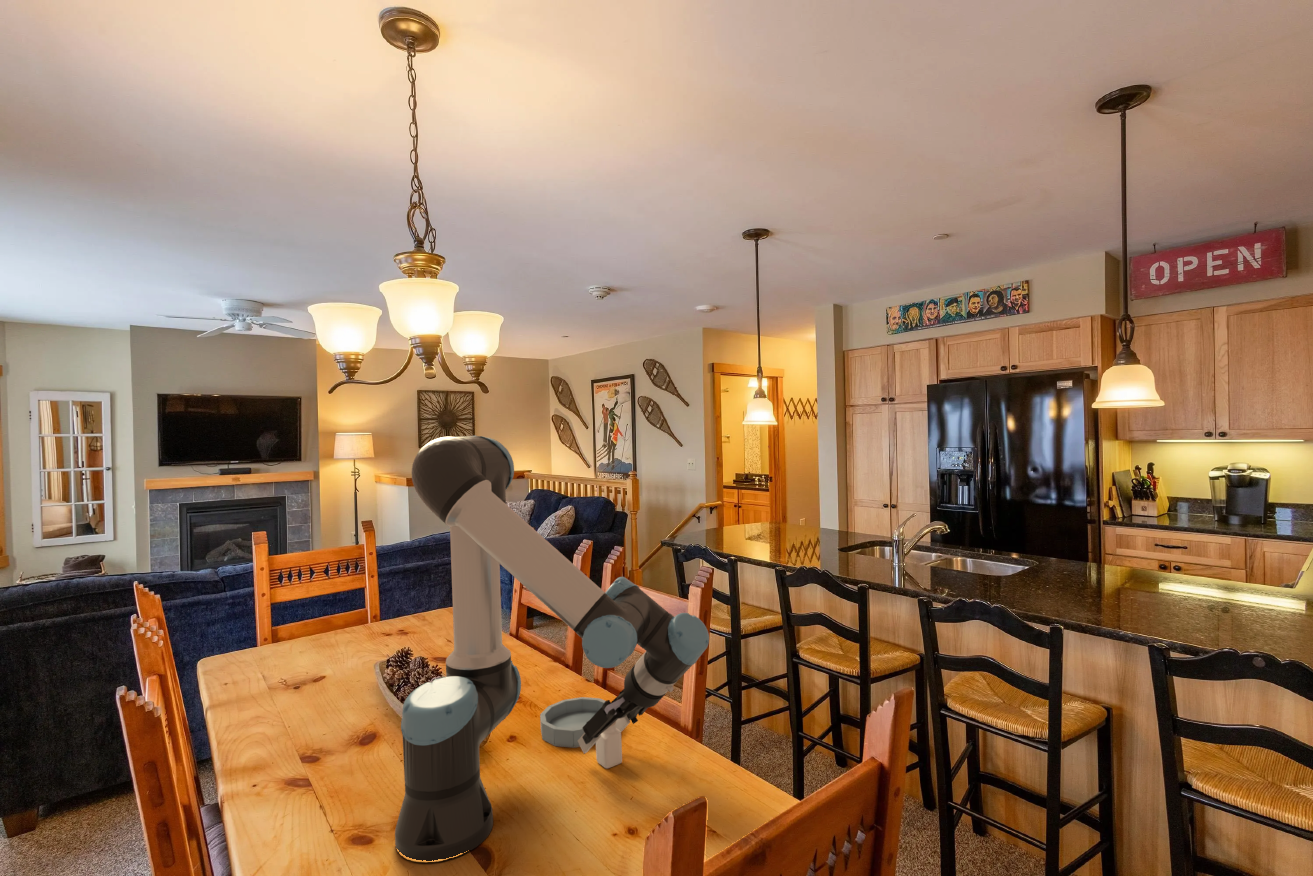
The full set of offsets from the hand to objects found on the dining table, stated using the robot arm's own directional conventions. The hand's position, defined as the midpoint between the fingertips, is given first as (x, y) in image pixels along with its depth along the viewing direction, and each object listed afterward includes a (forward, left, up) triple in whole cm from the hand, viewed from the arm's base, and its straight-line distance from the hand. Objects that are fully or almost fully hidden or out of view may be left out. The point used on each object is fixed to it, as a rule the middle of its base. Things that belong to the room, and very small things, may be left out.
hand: (597, 739), depth 125 cm
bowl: (+5, +12, -3) cm, 14 cm away
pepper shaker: (0, -4, -4) cm, 5 cm away
